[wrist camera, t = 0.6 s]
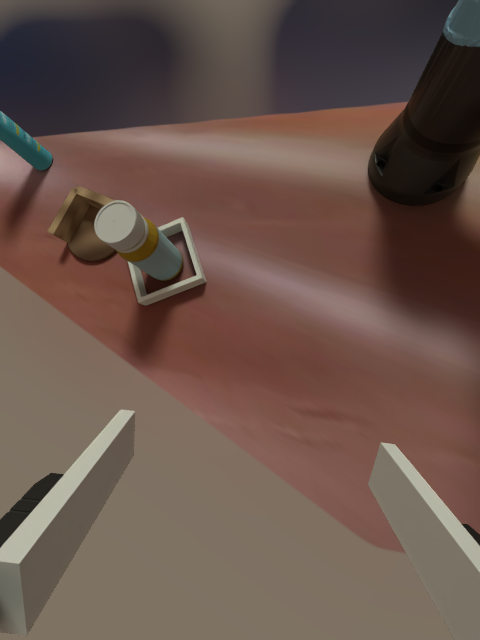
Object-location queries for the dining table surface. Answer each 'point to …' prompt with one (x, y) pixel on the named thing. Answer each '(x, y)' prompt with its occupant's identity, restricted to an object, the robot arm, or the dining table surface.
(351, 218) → the dining table surface
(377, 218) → the dining table surface
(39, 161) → the tube
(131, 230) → the bottle
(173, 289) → the grey frame
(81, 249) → the v block
